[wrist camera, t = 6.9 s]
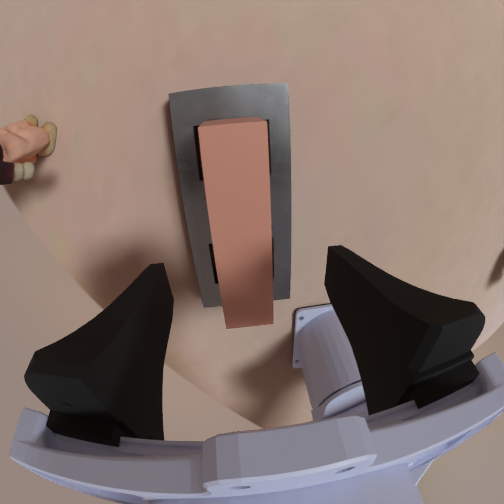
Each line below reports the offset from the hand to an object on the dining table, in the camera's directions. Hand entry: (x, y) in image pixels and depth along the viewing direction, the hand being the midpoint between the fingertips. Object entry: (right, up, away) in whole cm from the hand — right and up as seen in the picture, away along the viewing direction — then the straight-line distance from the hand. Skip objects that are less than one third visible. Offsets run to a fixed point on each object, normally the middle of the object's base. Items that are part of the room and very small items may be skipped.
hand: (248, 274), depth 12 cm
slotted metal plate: (-1, +5, +8) cm, 9 cm away
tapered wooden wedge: (-1, +5, +8) cm, 9 cm away
